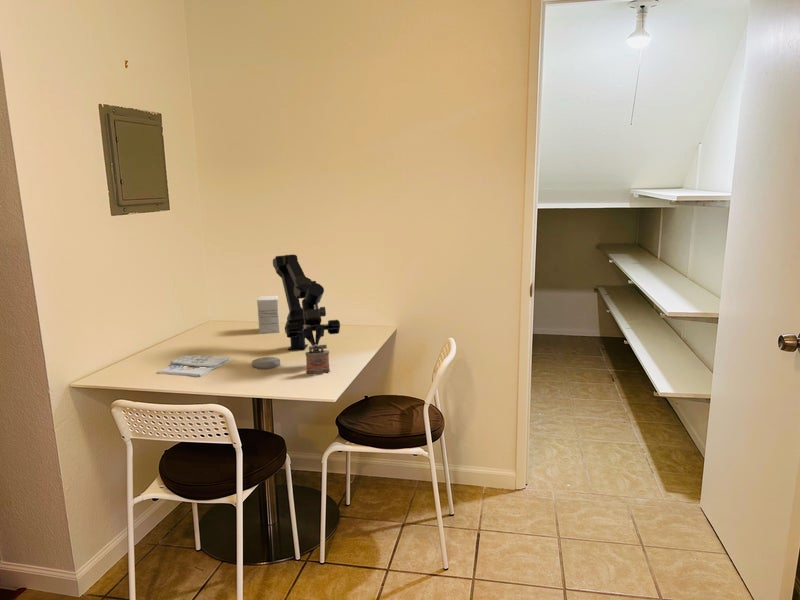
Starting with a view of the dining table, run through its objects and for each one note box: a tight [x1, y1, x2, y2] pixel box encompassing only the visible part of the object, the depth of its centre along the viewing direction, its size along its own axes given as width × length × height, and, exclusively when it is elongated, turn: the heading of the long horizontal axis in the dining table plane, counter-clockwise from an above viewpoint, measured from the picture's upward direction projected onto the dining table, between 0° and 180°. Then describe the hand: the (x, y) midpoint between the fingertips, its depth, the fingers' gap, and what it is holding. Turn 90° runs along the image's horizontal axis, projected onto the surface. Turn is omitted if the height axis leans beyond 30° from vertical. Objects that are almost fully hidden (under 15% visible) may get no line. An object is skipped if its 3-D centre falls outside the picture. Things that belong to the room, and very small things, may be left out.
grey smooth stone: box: [251, 356, 281, 370], centre depth 216 cm, size 10×10×2 cm
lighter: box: [305, 343, 331, 375], centre depth 206 cm, size 8×3×10 cm, turn 101°
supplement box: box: [256, 295, 281, 334], centre depth 264 cm, size 9×9×15 cm
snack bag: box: [156, 354, 232, 378], centre depth 216 cm, size 19×20×2 cm
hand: (316, 349), depth 209 cm, fingers closed
